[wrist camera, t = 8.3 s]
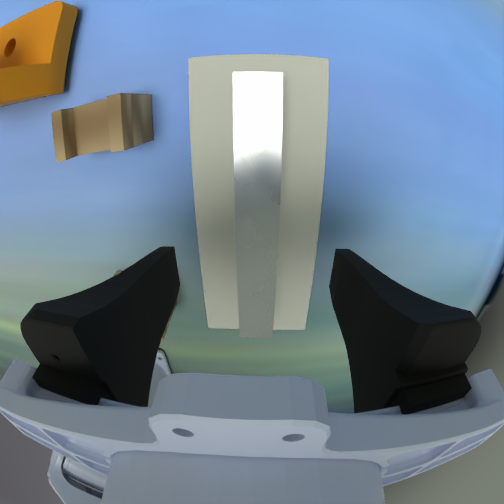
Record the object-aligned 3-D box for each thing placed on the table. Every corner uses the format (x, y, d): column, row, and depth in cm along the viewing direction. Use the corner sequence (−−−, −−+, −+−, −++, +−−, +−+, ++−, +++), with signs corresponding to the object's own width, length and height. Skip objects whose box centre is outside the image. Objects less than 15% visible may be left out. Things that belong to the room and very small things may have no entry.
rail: (271, 316, 22) (272, 338, 20) (241, 315, 22) (239, 337, 20) (279, 77, 13) (282, 72, 11) (237, 77, 13) (232, 72, 11)
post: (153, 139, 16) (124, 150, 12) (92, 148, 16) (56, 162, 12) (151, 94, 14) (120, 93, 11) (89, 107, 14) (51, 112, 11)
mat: (303, 324, 23) (304, 329, 22) (209, 322, 23) (208, 327, 22) (326, 60, 13) (328, 58, 12) (191, 59, 13) (188, 58, 13)
